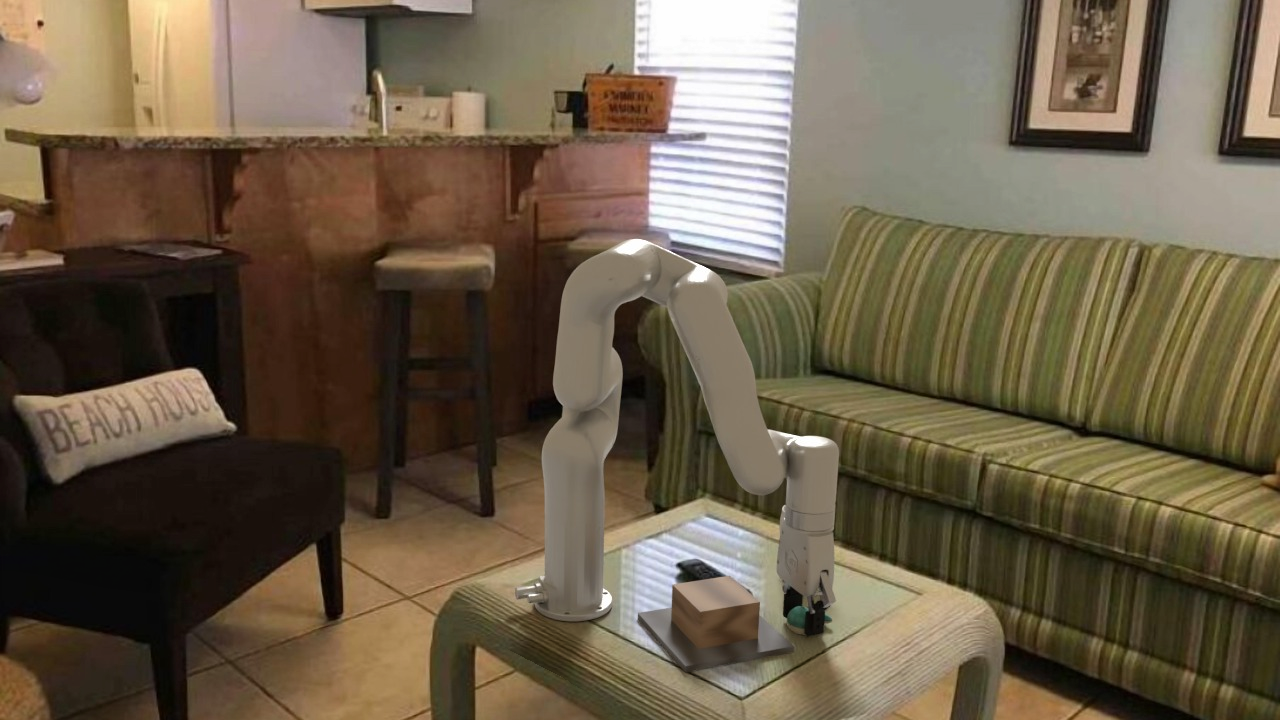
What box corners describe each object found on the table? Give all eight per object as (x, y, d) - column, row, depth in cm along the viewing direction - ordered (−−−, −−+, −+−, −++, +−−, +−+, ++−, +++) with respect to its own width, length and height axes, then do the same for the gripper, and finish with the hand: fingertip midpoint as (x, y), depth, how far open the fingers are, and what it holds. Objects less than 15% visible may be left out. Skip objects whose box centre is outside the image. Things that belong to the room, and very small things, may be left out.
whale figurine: (778, 624, 176) (780, 602, 175) (817, 616, 179) (818, 594, 178) (799, 640, 171) (800, 617, 170) (838, 632, 174) (840, 609, 173)
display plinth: (685, 672, 160) (687, 628, 159) (637, 618, 176) (638, 577, 175) (793, 652, 167) (796, 609, 166) (738, 602, 183) (740, 562, 182)
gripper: (761, 500, 176) (755, 605, 181) (818, 540, 161) (810, 654, 165) (802, 495, 179) (795, 598, 183) (862, 534, 164) (853, 646, 168)
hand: (802, 624), depth 174 cm, fingers closed on whale figurine, 5 cm apart
